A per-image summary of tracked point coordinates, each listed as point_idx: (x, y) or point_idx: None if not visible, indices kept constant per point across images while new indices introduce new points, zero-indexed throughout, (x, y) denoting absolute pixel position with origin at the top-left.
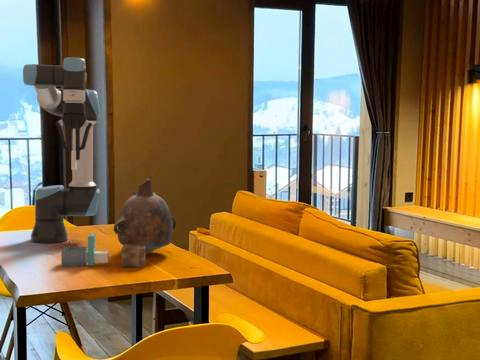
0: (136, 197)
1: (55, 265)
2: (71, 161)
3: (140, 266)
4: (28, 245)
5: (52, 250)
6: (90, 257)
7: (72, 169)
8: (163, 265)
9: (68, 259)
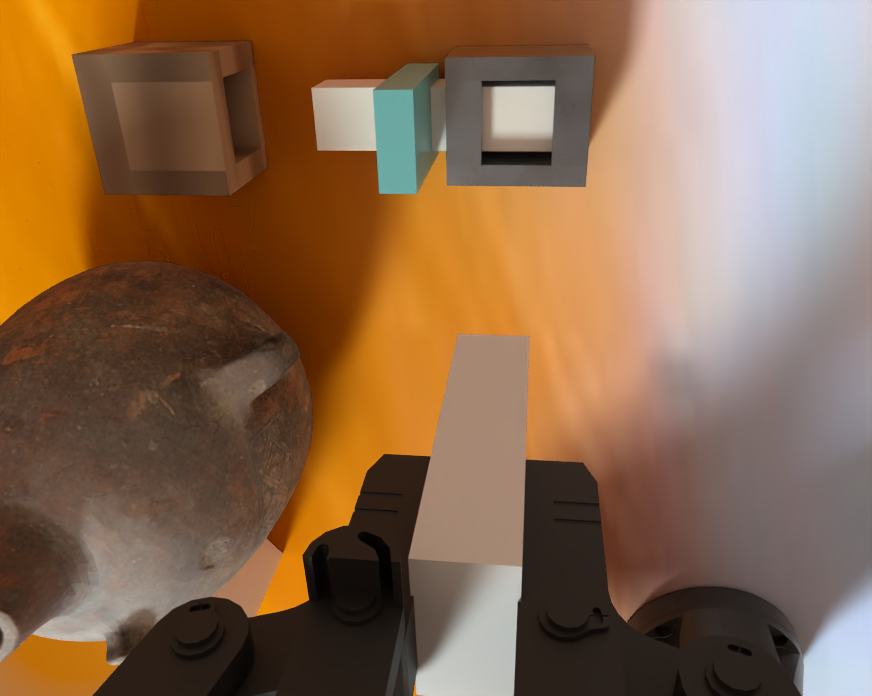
0: (70, 515)
1: (628, 93)
2: (523, 411)
3: (148, 42)
4: (805, 553)
5: (674, 448)
6: (417, 68)
7: (509, 336)
8: (53, 107)
9: (548, 49)
